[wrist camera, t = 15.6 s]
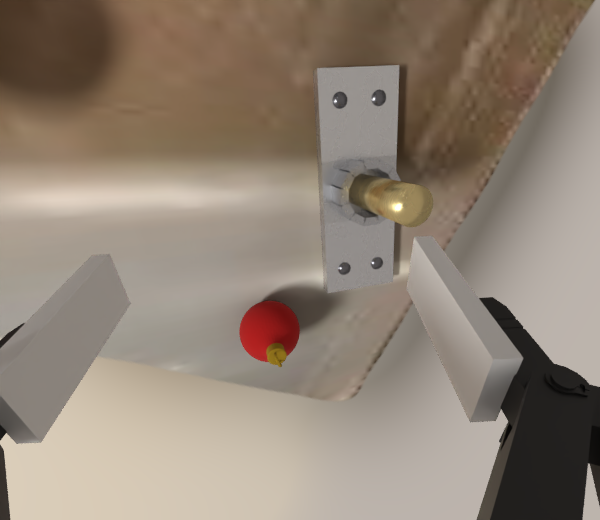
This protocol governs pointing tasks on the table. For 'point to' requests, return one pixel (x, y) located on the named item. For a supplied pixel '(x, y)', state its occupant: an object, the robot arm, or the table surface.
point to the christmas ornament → (269, 331)
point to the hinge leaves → (355, 170)
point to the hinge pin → (392, 199)
